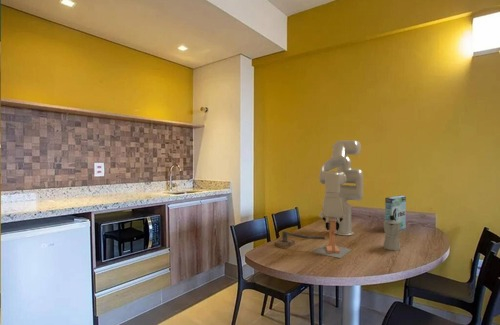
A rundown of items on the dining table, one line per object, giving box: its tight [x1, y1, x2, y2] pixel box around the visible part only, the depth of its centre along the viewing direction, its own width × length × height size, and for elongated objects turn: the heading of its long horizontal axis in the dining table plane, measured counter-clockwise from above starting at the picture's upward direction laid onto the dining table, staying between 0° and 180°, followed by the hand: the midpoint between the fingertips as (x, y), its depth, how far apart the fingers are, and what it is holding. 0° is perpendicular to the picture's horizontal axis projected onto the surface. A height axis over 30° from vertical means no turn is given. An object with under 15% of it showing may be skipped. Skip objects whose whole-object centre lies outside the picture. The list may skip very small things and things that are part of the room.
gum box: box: [384, 195, 407, 231], centre depth 198 cm, size 20×5×23 cm, turn 126°
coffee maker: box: [382, 215, 401, 252], centre depth 158 cm, size 15×9×18 cm, turn 151°
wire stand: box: [274, 230, 326, 249], centre depth 157 cm, size 10×26×8 cm, turn 52°
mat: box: [311, 243, 353, 260], centre depth 152 cm, size 17×15×1 cm
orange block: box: [324, 219, 340, 253], centre depth 153 cm, size 10×6×15 cm, turn 172°
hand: (332, 229), depth 152 cm, fingers open, 4 cm apart
